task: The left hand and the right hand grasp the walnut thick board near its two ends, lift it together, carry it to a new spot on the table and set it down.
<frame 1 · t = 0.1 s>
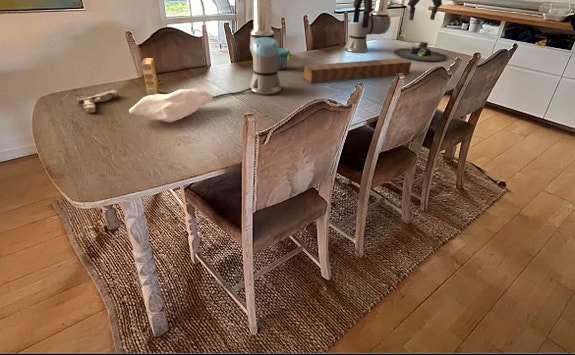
left hand: (360, 24, 182), 28 cm above the table, tool pointing down, fingers open, 13 cm apart
right hand: (421, 19, 202), 28 cm above the table, tool pointing down, fingers open, 13 cm apart
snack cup: (279, 68, 210), on the table
crumpled cloth: (172, 113, 149), on the table
candy box: (153, 94, 167), on the table
thick board: (358, 76, 203), on the table
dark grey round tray: (419, 55, 248), on the table
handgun: (101, 103, 156), on the table
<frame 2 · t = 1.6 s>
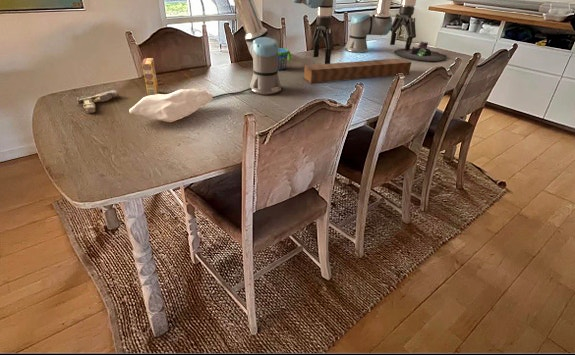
left hand: (321, 60, 190), 10 cm above the table, tool pointing down, fingers open, 13 cm apart
right hand: (399, 47, 203), 14 cm above the table, tool pointing down, fingers open, 13 cm apart
nothing on the table moved.
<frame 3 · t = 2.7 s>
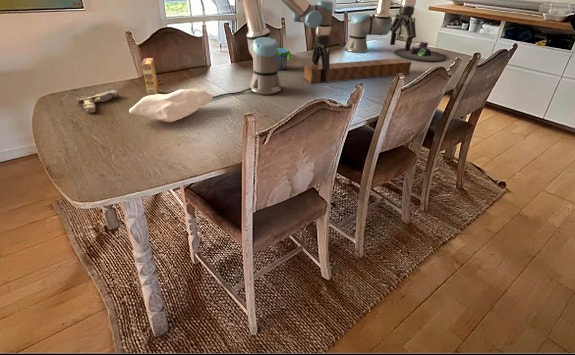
left hand: (319, 78, 195), 0 cm above the table, tool pointing down, fingers closed on thick board, 9 cm apart
right hand: (399, 47, 203), 14 cm above the table, tool pointing down, fingers open, 13 cm apart
thick board: (358, 76, 203), on the table, touching left hand
everything else where it was.
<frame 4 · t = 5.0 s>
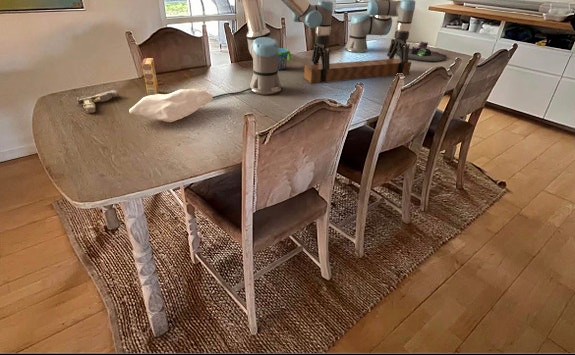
left hand: (319, 78, 195), 0 cm above the table, tool pointing down, fingers closed on thick board, 9 cm apart
right hand: (394, 72, 211), 0 cm above the table, tool pointing down, fingers closed on thick board, 9 cm apart
thick board: (358, 76, 203), on the table, touching left hand, right hand
everything else where it was.
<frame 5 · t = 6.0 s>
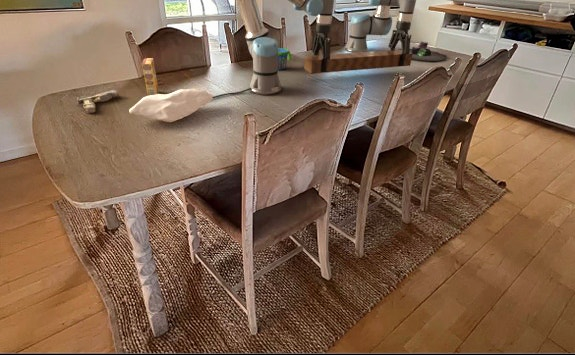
left hand: (319, 69, 192), 5 cm above the table, tool pointing down, fingers closed on thick board, 9 cm apart
right hand: (395, 63, 208), 5 cm above the table, tool pointing down, fingers closed on thick board, 9 cm apart
thick board: (358, 67, 200), point 5 cm above the table, touching left hand, right hand
everything else where it was.
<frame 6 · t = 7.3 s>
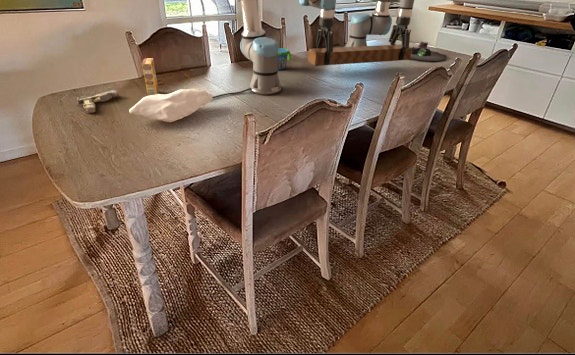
left hand: (322, 61, 199), 7 cm above the table, tool pointing down, fingers closed on thick board, 9 cm apart
right hand: (395, 57, 216), 6 cm above the table, tool pointing down, fingers closed on thick board, 9 cm apart
thick board: (360, 60, 208), point 6 cm above the table, touching left hand, right hand
everything else where it was.
when the left hand's fingers open (1 cm above the table, at t = 9.5 s): thick board stays where it is, on the table.
when the right hand's fingers open (1 cm above the table, at t = 9.5 s): thick board stays where it is, on the table.
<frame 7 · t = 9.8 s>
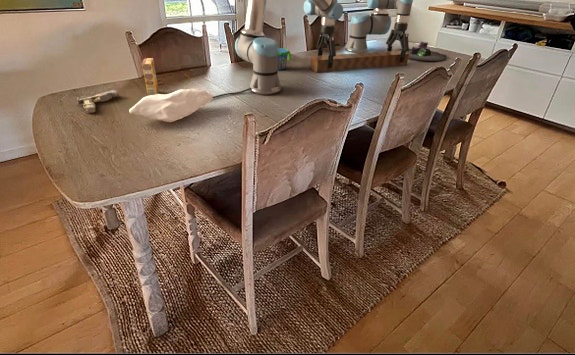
left hand: (324, 64, 210), 3 cm above the table, tool pointing down, fingers open, 13 cm apart
right hand: (394, 59, 226), 3 cm above the table, tool pointing down, fingers open, 13 cm apart
thick board: (360, 66, 219), on the table
everything else where it was.
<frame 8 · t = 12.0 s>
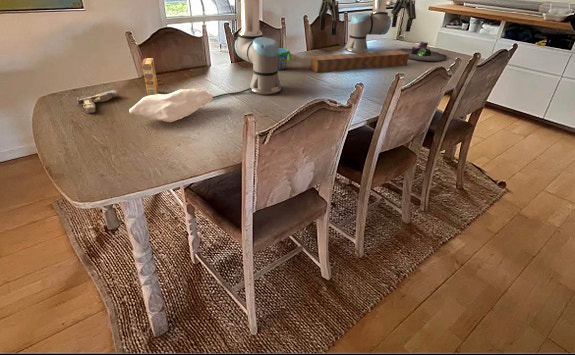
left hand: (327, 32, 200), 20 cm above the table, tool pointing down, fingers open, 13 cm apart
right hand: (400, 29, 216), 20 cm above the table, tool pointing down, fingers open, 13 cm apart
nothing on the table moved.
at the end: thick board inside the target area (0.1 cm from its centre), on the table; thick board tilted 0°; thick board never tilted more than 1° during the clip; both hands held the thick board at the same time; the left hand is holding nothing; the right hand is holding nothing; thick board at rest at the end (0.0 cm/s) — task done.
